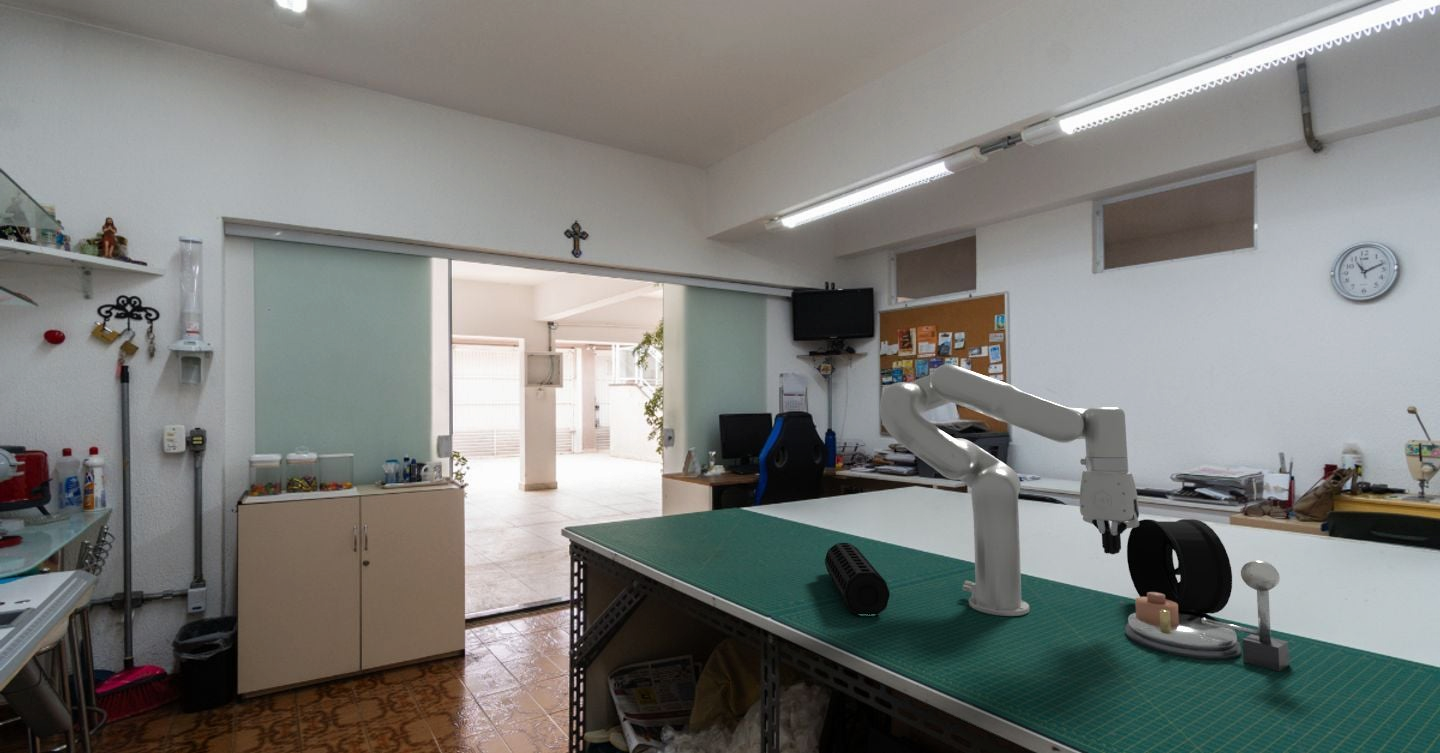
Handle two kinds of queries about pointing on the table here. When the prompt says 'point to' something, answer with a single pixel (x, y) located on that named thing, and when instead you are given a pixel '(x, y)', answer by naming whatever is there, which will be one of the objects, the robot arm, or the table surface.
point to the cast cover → (1155, 608)
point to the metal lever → (1260, 620)
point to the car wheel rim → (1180, 564)
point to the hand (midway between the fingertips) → (1112, 552)
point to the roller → (856, 579)
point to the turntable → (1185, 632)
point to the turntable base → (1184, 651)
